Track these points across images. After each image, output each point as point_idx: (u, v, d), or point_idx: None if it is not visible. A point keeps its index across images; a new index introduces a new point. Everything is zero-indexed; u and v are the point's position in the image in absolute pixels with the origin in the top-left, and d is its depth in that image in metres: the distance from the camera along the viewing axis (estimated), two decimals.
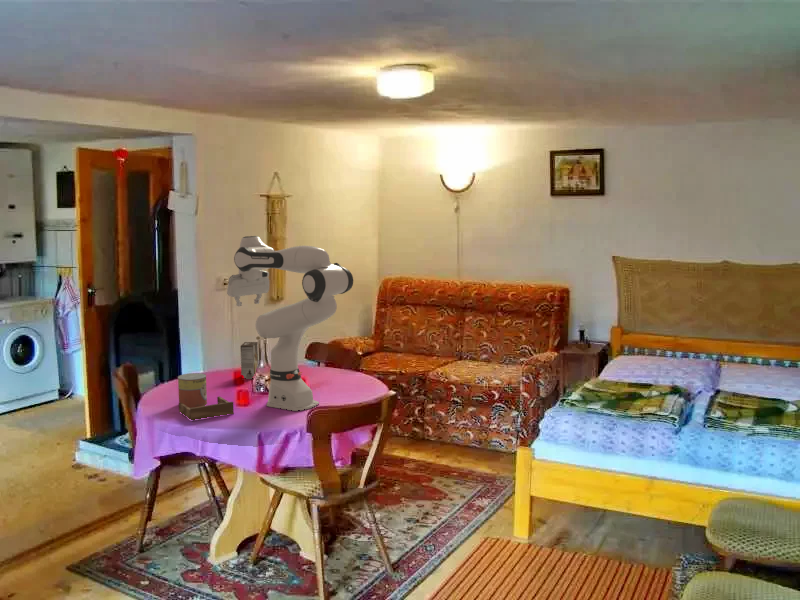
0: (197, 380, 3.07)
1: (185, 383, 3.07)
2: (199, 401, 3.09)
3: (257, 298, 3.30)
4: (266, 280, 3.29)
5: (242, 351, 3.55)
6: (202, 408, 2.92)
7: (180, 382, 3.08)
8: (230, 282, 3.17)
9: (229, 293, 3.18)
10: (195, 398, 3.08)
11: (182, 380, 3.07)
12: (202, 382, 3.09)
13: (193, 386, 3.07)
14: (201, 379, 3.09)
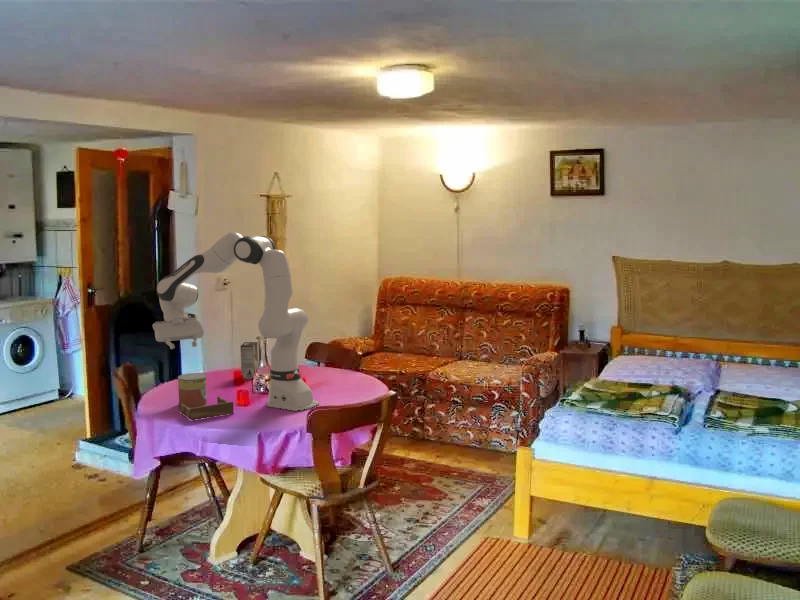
0: (197, 380, 3.07)
1: (185, 383, 3.07)
2: (199, 401, 3.09)
3: (194, 341, 3.22)
4: (196, 322, 3.26)
5: (242, 351, 3.55)
6: (202, 408, 2.92)
7: (180, 382, 3.08)
8: (154, 327, 3.18)
9: (156, 337, 3.16)
10: (195, 398, 3.08)
11: (182, 380, 3.07)
12: (202, 382, 3.09)
13: (193, 386, 3.07)
14: (201, 379, 3.09)
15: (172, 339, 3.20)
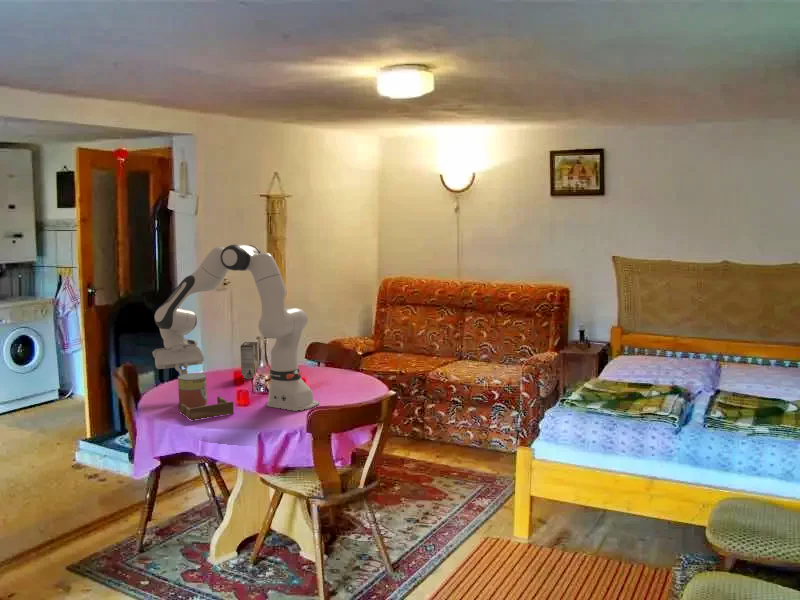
0: (197, 380, 3.07)
1: (185, 383, 3.07)
2: (199, 401, 3.09)
3: (185, 369, 3.21)
4: (196, 348, 3.27)
5: (242, 351, 3.55)
6: (202, 408, 2.92)
7: (180, 382, 3.08)
8: (154, 355, 3.19)
9: (156, 364, 3.17)
10: (195, 398, 3.08)
11: (182, 380, 3.07)
12: (202, 382, 3.09)
13: (193, 386, 3.07)
14: (201, 379, 3.09)
15: (172, 366, 3.21)
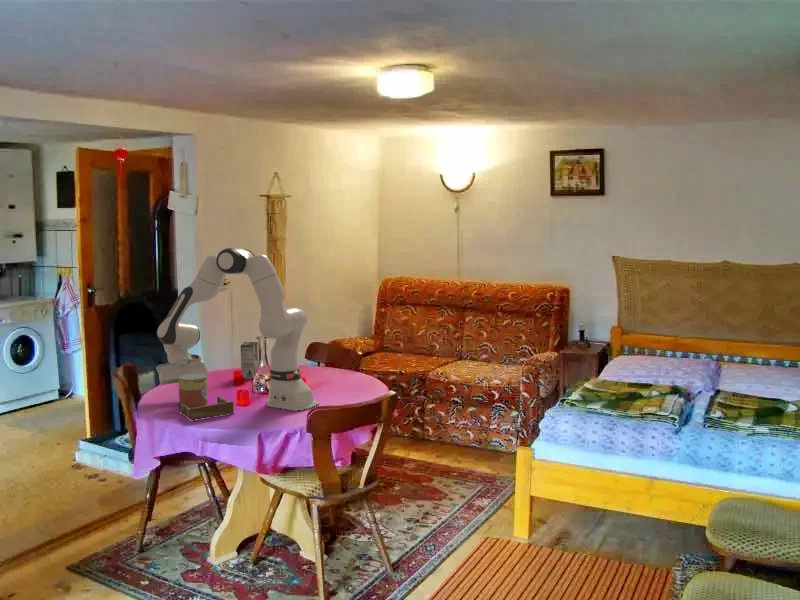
0: (198, 380, 3.07)
1: (186, 383, 3.06)
2: (200, 401, 3.09)
3: None
4: (200, 363, 3.25)
5: (242, 351, 3.55)
6: (202, 408, 2.92)
7: (180, 382, 3.07)
8: (158, 370, 3.17)
9: (160, 380, 3.14)
10: (196, 398, 3.08)
11: (182, 380, 3.06)
12: (202, 382, 3.09)
13: (194, 386, 3.07)
14: (201, 379, 3.08)
15: (176, 381, 3.19)
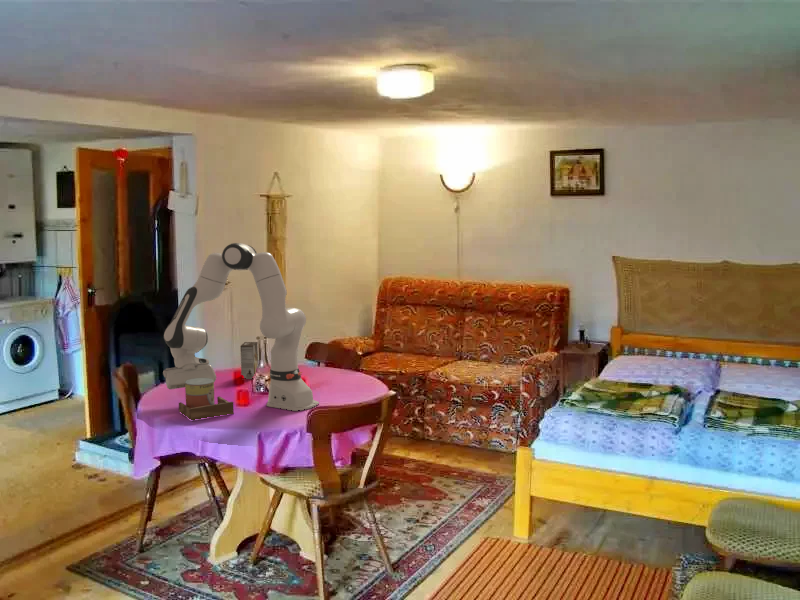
0: (204, 385, 2.99)
1: (192, 388, 2.99)
2: None
3: None
4: (208, 367, 3.18)
5: (242, 351, 3.55)
6: (202, 408, 2.92)
7: (187, 387, 3.00)
8: (165, 374, 3.09)
9: (167, 384, 3.07)
10: (202, 404, 3.00)
11: (189, 385, 2.99)
12: (209, 387, 3.01)
13: (200, 391, 2.99)
14: (208, 384, 3.00)
15: (183, 386, 3.11)
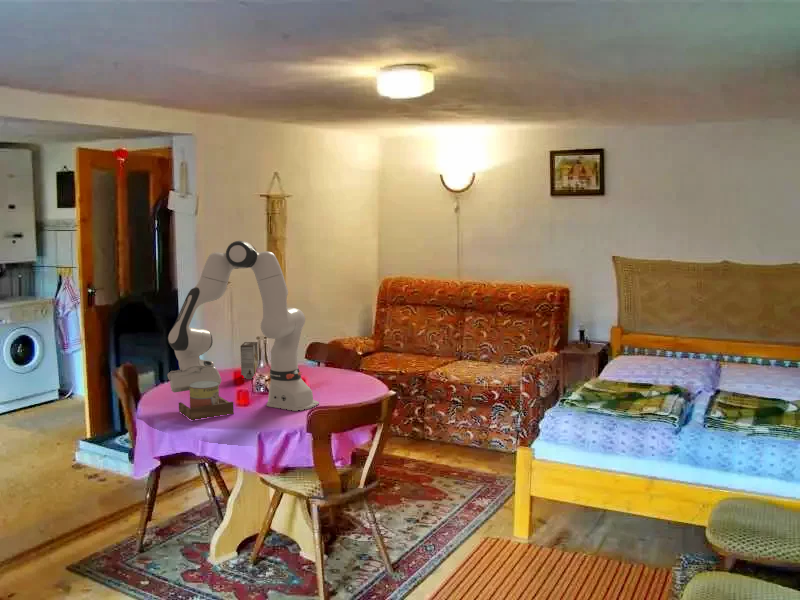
0: (208, 389, 2.94)
1: (196, 391, 2.94)
2: None
3: None
4: (213, 369, 3.13)
5: (242, 351, 3.55)
6: (202, 408, 2.92)
7: (191, 390, 2.95)
8: (169, 377, 3.04)
9: (172, 387, 3.02)
10: None
11: (192, 388, 2.94)
12: (213, 391, 2.96)
13: (204, 395, 2.94)
14: (212, 388, 2.95)
15: (188, 389, 3.06)
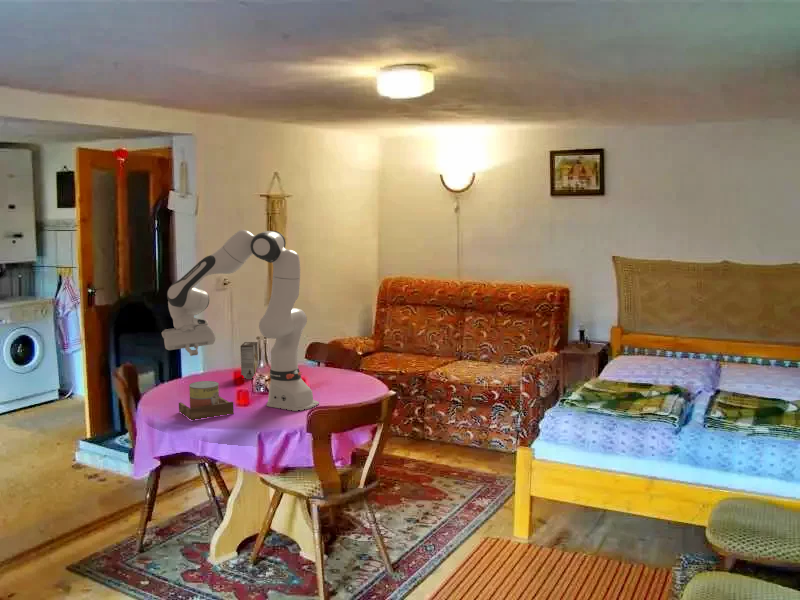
0: (208, 389, 2.94)
1: (196, 391, 2.94)
2: None
3: None
4: (207, 328, 3.15)
5: (242, 351, 3.55)
6: (202, 408, 2.92)
7: (191, 390, 2.95)
8: (163, 335, 3.07)
9: (165, 345, 3.05)
10: None
11: (192, 388, 2.94)
12: (213, 391, 2.96)
13: (204, 395, 2.94)
14: (212, 388, 2.95)
15: (182, 347, 3.09)
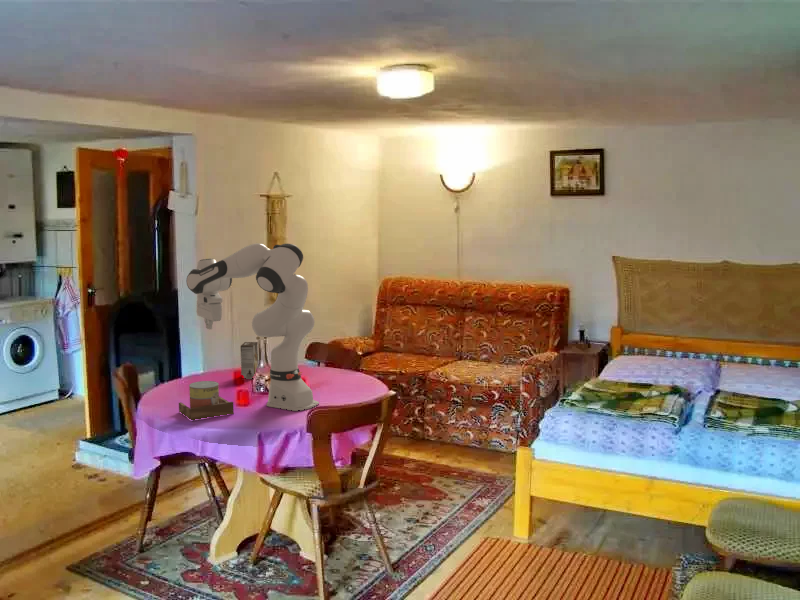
0: (208, 389, 2.94)
1: (196, 391, 2.94)
2: None
3: None
4: (209, 307, 3.15)
5: (242, 351, 3.55)
6: (202, 408, 2.92)
7: (191, 390, 2.95)
8: None
9: None
10: None
11: (192, 388, 2.94)
12: (213, 391, 2.96)
13: (204, 395, 2.94)
14: (212, 388, 2.95)
15: None
